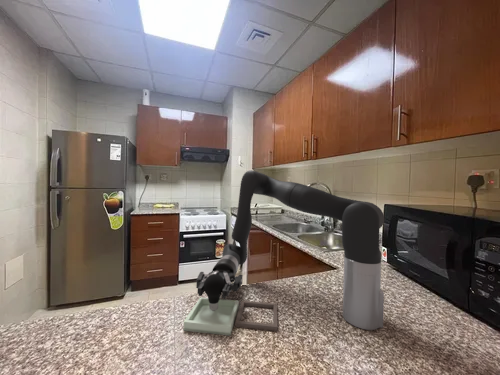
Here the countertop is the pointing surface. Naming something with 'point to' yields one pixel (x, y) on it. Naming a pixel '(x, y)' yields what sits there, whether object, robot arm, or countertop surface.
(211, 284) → the light bulb
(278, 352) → the countertop surface
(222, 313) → the parts tray
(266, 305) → the brown square frame
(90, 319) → the countertop surface
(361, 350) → the countertop surface
